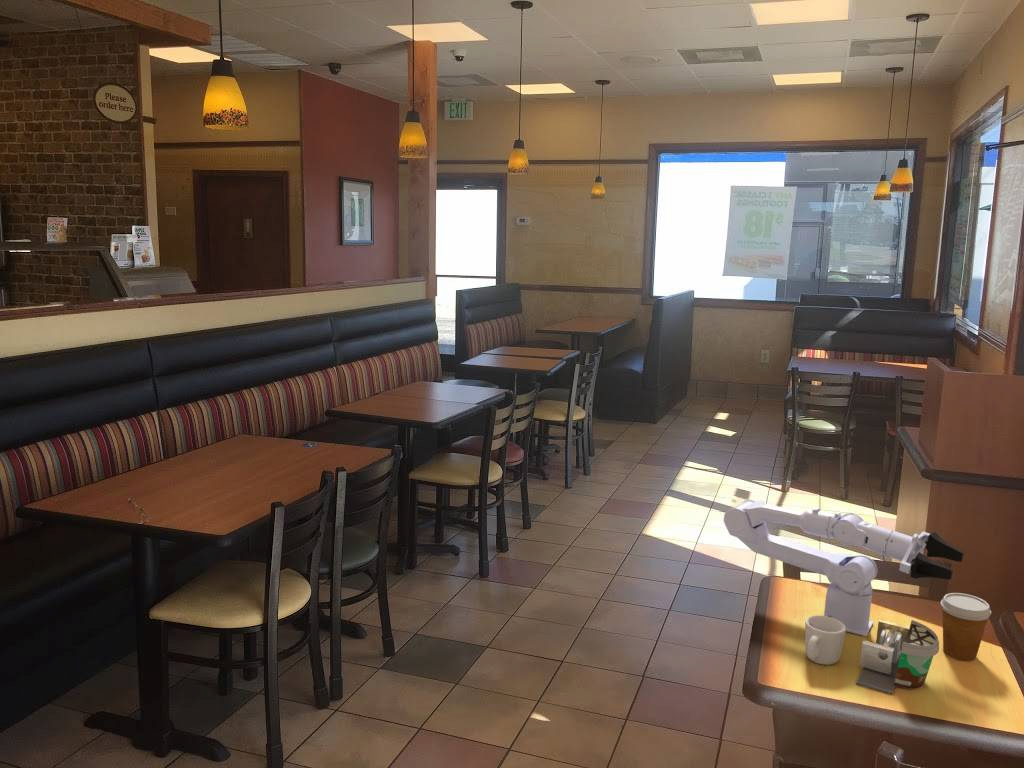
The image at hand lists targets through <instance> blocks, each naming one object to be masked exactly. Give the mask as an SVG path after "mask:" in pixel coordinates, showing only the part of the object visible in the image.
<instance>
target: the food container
mask: <svg viewBox="0 0 1024 768" xmlns="http://www.w3.org/2000/svg"><path fill="white" fill-rule="evenodd" d="M909 627H910V629H909V632H908V634H907V637H906V640H905V642H903V645H902V649H901V654H900V659H899V664H898V668H897V673H896V677H895V682H894V686H895V687H898V688H902V689H907V690H917V689H921V688H923V687H924V685H925V682H926V679H927V676H928V673H929V671H930V666H931V664H932V662H933V659H934V656H936V655H937V654H939V651H940V641H939V637H938V635H937V633H935V631H934V630H932V629H931V628H930V627H928V626H927V625H925V624H923V623H921V622H918V621H916V620H913V619H911V620H910V625H909Z"/></svg>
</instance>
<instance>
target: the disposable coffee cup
mask: <svg viewBox="0 0 1024 768" xmlns="http://www.w3.org/2000/svg"><path fill="white" fill-rule="evenodd" d="M940 606H941V608H942V651H943V653H944V654H945V655H946V656H948V657H949V658H952V659H955V660H958V661H962V662H971V661H975V660H976V659H977V656H978V653H979V649H980V646H981V642H982V640H983V637H984V633H985V629H986V626H987V622H988V620H989V617H990V616H991V615H992V610H991V608H990V604H989V603H988V602H987V601H986V600H984V599H982V598H980V597H978V596H975V595H971V594H967V593H961V592H950V593H947V594H945V595H944V596H943V598H942V599H941V600H940Z"/></svg>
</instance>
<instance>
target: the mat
mask: <svg viewBox="0 0 1024 768" xmlns="http://www.w3.org/2000/svg"><path fill="white" fill-rule="evenodd" d="M900 654H901V651H900V653H899V658H898V660H897V663H893V664H892V671H891V674H886V673H883V672H879V671H876V670H872V669H868V668H865V667H863V668H862V670H861V671H860V672H861V673H860V674H859V675H858V678H857V680H856V682H855V685H858V686H861V687H865V688H868V689H871V690H874V691H878V692H880V693H884V694H887V695H891V696H892V695H893V693H894V690H895V688H896V686H894V682H895V677H896V673H897V668H898V664H899V659H900Z"/></svg>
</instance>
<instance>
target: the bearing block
mask: <svg viewBox="0 0 1024 768" xmlns="http://www.w3.org/2000/svg"><path fill="white" fill-rule="evenodd" d="M886 636H887V629H883V631H882V633H881V635H880V643H879V645H883V643H884V641H885V638H886ZM901 637H902V634H901V633H898V635H897V638H896V640H895V641H896V642H894V644H893V647H892V648H894V655H893V663H897V660H898V658H899V653H900V645H901Z"/></svg>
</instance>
